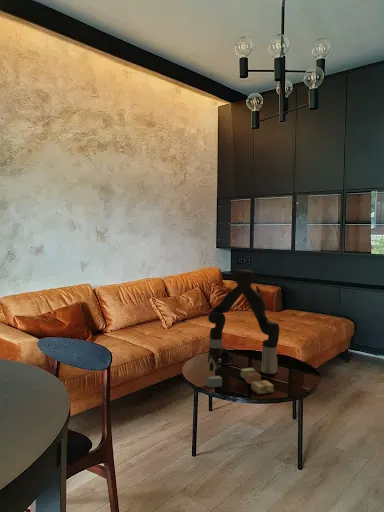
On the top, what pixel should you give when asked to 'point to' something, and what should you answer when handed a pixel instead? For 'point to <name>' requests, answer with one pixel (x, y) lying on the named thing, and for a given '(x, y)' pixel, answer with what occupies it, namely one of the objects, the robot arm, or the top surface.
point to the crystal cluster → (226, 357)
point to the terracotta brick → (252, 377)
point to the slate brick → (214, 381)
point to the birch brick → (262, 386)
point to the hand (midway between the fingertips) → (214, 373)
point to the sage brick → (247, 370)
